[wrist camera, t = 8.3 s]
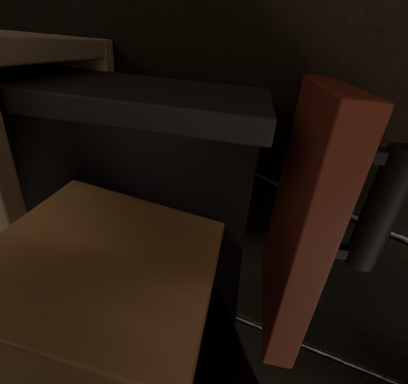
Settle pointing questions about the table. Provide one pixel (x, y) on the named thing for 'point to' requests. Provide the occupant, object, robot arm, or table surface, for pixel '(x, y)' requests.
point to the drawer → (220, 170)
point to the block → (104, 290)
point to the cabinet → (31, 59)
